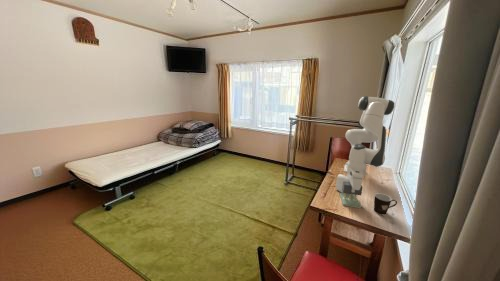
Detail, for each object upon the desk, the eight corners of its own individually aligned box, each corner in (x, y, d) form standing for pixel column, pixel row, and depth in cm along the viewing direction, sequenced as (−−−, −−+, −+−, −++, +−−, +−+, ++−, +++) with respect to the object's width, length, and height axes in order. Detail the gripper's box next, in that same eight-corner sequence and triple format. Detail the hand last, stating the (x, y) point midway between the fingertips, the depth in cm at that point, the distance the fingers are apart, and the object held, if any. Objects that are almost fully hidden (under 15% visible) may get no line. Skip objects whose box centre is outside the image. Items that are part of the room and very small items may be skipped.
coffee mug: (371, 212, 118) (374, 198, 116) (372, 205, 125) (375, 191, 123) (394, 220, 112) (398, 204, 109) (394, 212, 119) (398, 197, 116)
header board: (339, 194, 138) (340, 188, 137) (355, 196, 136) (356, 190, 134) (343, 205, 125) (344, 198, 124) (360, 208, 123) (361, 201, 121)
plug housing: (341, 189, 132) (343, 181, 131) (359, 191, 130) (360, 183, 128) (343, 193, 128) (344, 184, 126) (361, 195, 125) (362, 187, 123)
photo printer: (334, 189, 145) (336, 173, 142) (338, 187, 147) (340, 172, 144) (347, 195, 136) (349, 179, 133) (350, 194, 139) (353, 178, 135)
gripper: (346, 163, 135) (343, 181, 139) (353, 175, 116) (349, 196, 120) (356, 164, 133) (353, 182, 137) (364, 177, 114) (360, 198, 118)
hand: (351, 189), depth 128 cm, fingers closed on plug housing, 5 cm apart
